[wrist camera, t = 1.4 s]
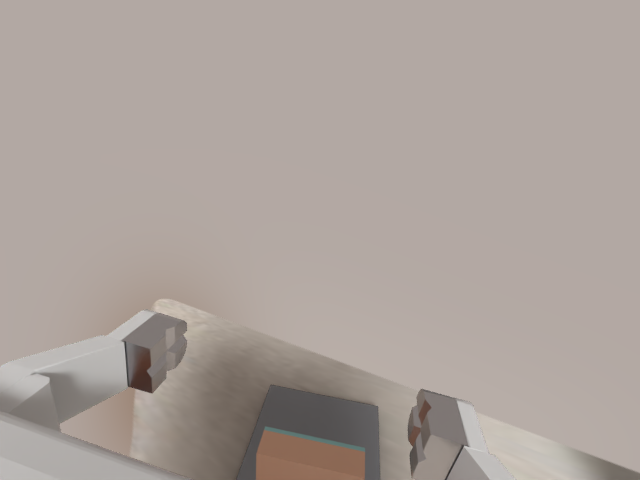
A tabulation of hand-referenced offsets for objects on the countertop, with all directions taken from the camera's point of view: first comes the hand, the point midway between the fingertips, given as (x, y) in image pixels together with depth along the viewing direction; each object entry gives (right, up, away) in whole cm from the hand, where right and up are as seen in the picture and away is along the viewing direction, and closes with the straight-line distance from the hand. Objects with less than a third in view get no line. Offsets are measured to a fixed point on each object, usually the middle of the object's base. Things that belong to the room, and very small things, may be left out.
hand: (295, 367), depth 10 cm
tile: (-1, -21, +17) cm, 27 cm away
